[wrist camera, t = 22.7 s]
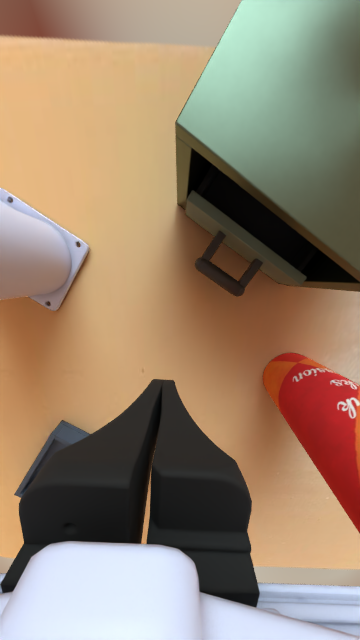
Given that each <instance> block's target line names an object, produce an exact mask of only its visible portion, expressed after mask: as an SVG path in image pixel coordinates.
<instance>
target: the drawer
mask: <svg viewBox="0 0 360 640" xmlns="http://www.w3.org/2000/svg"><path fill="white" fill-rule="evenodd" d="M185 215H187V216H188V217H189V218H191V219H192V220H193V221H195V222H196V223H197V224H199V225H200V226H201V227H203V228H204V229H206V230H207V231H208V232H210V233H211V234H212V235H214V236H215V237H214V239H213V240H212V242H211V243H210V245H209V246H208V248H207V250H206V251H205V253H204V254H203V256H202V257H200V258H198V259H197V260H196V261H195V267H196V269H197V270H198V271H200V272H201V273H202V274H204V275H205V276H207V277H208V278H210V279H211V280H212V281H214V282H215V283H217V284H218V285H220V286H221V287H222V288H224V289H225V290H227V291H228V292H230V293H231V294H233V295H234V296H241V295H242V294H243V293H244V291H245V287H246V286H247V284H248V283H249V282H250V280H251V279H252V277H253V276H254V275H255V273H256V272H257V271H258V269H260V270H261V271H262V272H264V273H265V274H266V275H268V276H269V277H271V278H272V279H273V280H275V281H276V282H277V283H279V284H290V285H302V283H303V282H304V281H305V280H306V278H307V277H306V276H305V275H304V274H302V273H301V271H302V270H303V269H304V268H305V266H306V265H307V264H308V262H309V261H310V260H311V259H312V257H313V256H314V255H315V254H316V252H317V251H318V250H319V249H318V248H317V247H316V246H314V245H313V244H312V243H311V242H309V241H308V240H307V239H306V238H304V237H303V236H302V235H301V234H299V233H298V232H297V231H296V230H294V229H293V228H292V227H291V226H289V225H288V224H287V223H286V222H284V221H283V220H282V219H280V218H279V217H278V216H277V215H275V214H274V213H273V212H272V211H270V210H269V209H268V208H267V207H265V206H264V205H263V204H262V203H260V202H259V201H258V200H257V199H255V198H254V197H253V196H252V195H250V194H249V193H248V192H247V191H245V190H244V189H243V188H242V187H240V186H239V185H238V184H237V183H235V182H234V181H233V180H232V179H230V178H229V177H228V176H227V175H225V174H224V173H223V172H222V171H220V170H219V169H218V168H217V167H215V166H214V165H212V166H211V168H210V170H209V171H208V173H207V174H206V176H205V178H204V179H203V181H202V183H201V184H200V186H199V188H198V189H197V191H196V192H195V191H194V190H192V192H191V193H190V195H189V197H188V198H187V204H186V214H185ZM221 242H223V243H224V244H226V245H227V246H229V247H230V248H231V249H233V250H234V251H235V252H237V253H238V254H239V255H241V256H242V257H243V258H245V259H246V260H248V261H249V262H250V263H251V264H250V266H249V267H248V268H247V270H246V271H245V273H244V274H243V275H242V277H241V278H240V280H239V281H237V280H235V279H234V278H233V277H231V276H230V275H228V274H227V273H226V272H224V271H223V270H221V269H220V268H219V267H217V266H216V265H214V264H213V263H212V262H210V261H209V260H210V259H211V257H212V256H213V254H214V253H215V251H216V250H217V248H218V247H219V245H220V244H221Z"/></svg>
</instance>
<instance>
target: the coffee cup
mask: <svg viewBox="0 0 360 640" xmlns="http://www.w3.org/2000/svg"><path fill="white" fill-rule="evenodd" d="M263 382H264V386H265V388H266V390H267V391H268V393H269V395H270V396H271V398H272V400H273V401H274V403H275V404H276V406H277V407H278V409H279V411H280V412H281V414H282V415H283V417H284V418H285V420H286V421H287V423H288V424H289V426H290V427H291V429H292V431H293V432H294V434H295V435H296V437H297V438H298V440H299V441H300V443H301V444H302V446H303V447H304V449H305V450H306V452H307V454H308V455H309V457H310V458H311V460H312V461H313V463H314V464H315V466H316V467H317V469H318V470H319V472H320V473H321V475H322V476H323V478H324V479H325V481H326V483H327V484H328V486H329V487H330V489H331V490H332V492H333V493H334V495H335V496H336V498H337V499H338V501H339V502H340V504H341V505H342V507H343V509H344V510H345V512H346V513H347V515H348V516H349V518H350V519H351V521H352V522H353V524H354V525H355V527H356V528H357V530H358V531H359V533H360V385H358V384H357V383H355V382H353V381H351V380H349V379H347V378H345V377H343V376H341V375H340V374H338V373H336V372H334V371H332V370H330V369H328V368H326V367H324V366H322V365H321V364H319V363H317V362H315V361H313V360H311V359H309V358H307V357H305V356H302V355H300V354H296V353H285V354H282V355H279V356H277V357H275V358H274V359H273V360H271V361H270V362H269V364H268V365H267V366H266V368H265V370H264V374H263Z"/></svg>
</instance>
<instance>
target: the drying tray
mask: <svg viewBox="0 0 360 640" xmlns="http://www.w3.org/2000/svg"><path fill="white" fill-rule="evenodd" d="M89 435H91V434H89V433H87V432H85V431H83V430H81V429H79V428H77V427H75V426H73V425H71V424H69V423H67V422H65V421H63V420H62V421H61V422H60V424H59V425H58V426H57V427H56V428H55V430H54V431H53V432H52V433H51V435H50V437H49V438H48V440H47V441H46V443H45V445H44V446H43V448H42V450H41V451H40V453H39V455H38V456H37V458H36V460H35V461H34V463H33V464H32V466H31V468H30V469H29V471H28V473H27V474H26V476H25V478H24V479H23V481H22V483H21V484H20V486H19V487H18V489H17V491H16V492H15V494H14V495H16V496H19V497H20V498H22V496H23V494H24V493H25V491H26V490H27V489H28V487H29V486H30V484H31V483H32V482H33V480H34V479H35V477H36V476H37V475H38V473H39V472H40V470H41V469H42V468H43V466H44V465H45V464H46V463H47V461H48V460H49V459H50V458H51V457H52V455H53V454H54V453H55V452H56V451H59V450H61V449H63V448H65V447H67V446H69V445H71V444H74V443H76V442H78V441H80V440H82V439H84V438H85V437H87V436H89Z"/></svg>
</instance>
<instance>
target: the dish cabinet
mask: <svg viewBox="0 0 360 640" xmlns="http://www.w3.org/2000/svg"><path fill="white" fill-rule="evenodd" d="M175 128H176V169H177V204H178V205H179V206H181V207H182V208H183V209H185V210H186V204H187V198H188V197H189V195H190V193H191V192H192V190H194V191H195V192H196V191H197V189H198V188H199V186H200V184H201V183H202V181H203V179H204V178H205V176H206V174H207V173H208V171H209V170H210V168H211V166H212V165H214V166H215V167H217V168H218V169H219V170H220V171H222V172H223V173H224V174H225V175H227V176H228V177H229V178H230V179H232V180H233V181H234V182H235V183H237V184H238V185H239V186H240V187H242V188H243V189H244V190H245V191H247V192H248V193H249V194H250V195H252V196H253V197H254V198H255V199H257V200H258V201H259V202H260V203H262V204H263V205H264V206H265V207H267V208H268V209H269V210H270V211H272V212H273V213H274V214H275V215H277V216H278V217H279V218H280V219H282V220H283V221H284V222H286V223H287V224H288V225H289V226H291V227H292V228H293V229H294V230H296V231H297V232H298V233H299V234H301V235H302V236H303V237H304V238H306V239H307V240H308V241H309V242H311V243H312V244H313V245H314V246H316V247H317V248H318V249H319V250H318V251H317V252H316V254H315V255H314V256H313V257H312V259H311V260H310V261H309V262H308V264H307V265H306V266H305V268H304V269H303V270H302V271H301V273H302V274H304V275H305V276H306V277H307V278H306V280H305V281H304V282H303V283H302V285H290V284H286V285H287V286H298V287H310V288H322V289H334V290H346V291H358V292H360V0H242V1H241V2H240V5H239V6H238V8H237V10H236V12H235V14H234V16H233V18H232V19H231V21H230V23H229V25H228V26H227V28H226V30H225V32H224V34H223V36H222V37H221V39H220V41H219V43H218V45H217V47H216V48H215V50H214V52H213V54H212V56H211V58H210V60H209V61H208V63H207V65H206V67H205V69H204V71H203V72H202V74H201V76H200V78H199V80H198V82H197V83H196V85H195V87H194V89H193V91H192V93H191V94H190V96H189V98H188V100H187V102H186V104H185V106H184V107H183V109H182V111H181V113H180V115H179V117H178V118H177V120H176V123H175Z"/></svg>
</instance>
